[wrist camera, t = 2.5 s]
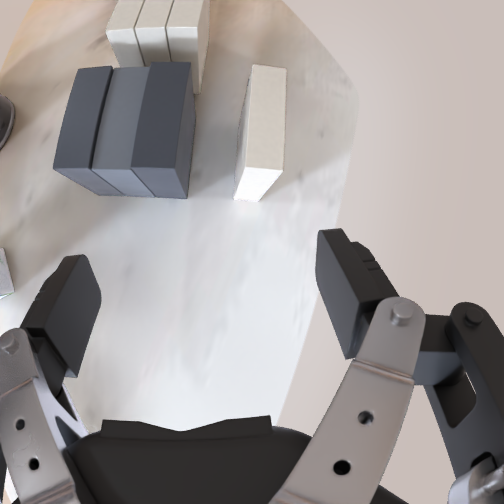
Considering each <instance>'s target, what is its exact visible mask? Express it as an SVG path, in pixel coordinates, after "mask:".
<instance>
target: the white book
mask: <svg viewBox="0 0 504 504" xmlns="http://www.w3.org/2000/svg"><path fill="white" fill-rule="evenodd" d="M286 81H287V69H286V68H279V67H272V66H265V65H257V64H253V66H252V70H251V74H250V78H249V80H248V85H247V86H248V87H247V91H246V95H245V100H244V104H243V109H242V113H241V118H240V122H239V130H238V142H237V155H236V168H235V181H234V195H233V200H244V201H256V202H258V201H259V200H260V199H261V197H262V196H263V195H264V194H265V193H266V191H267V190H268V189H269V188H270V187H271V185H272V184H273V183H274V182H275V181H276V179H277V178H278V177H279V176H280V175H281V173H282V172H283V171H284V150H285V120H286Z"/></svg>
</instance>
